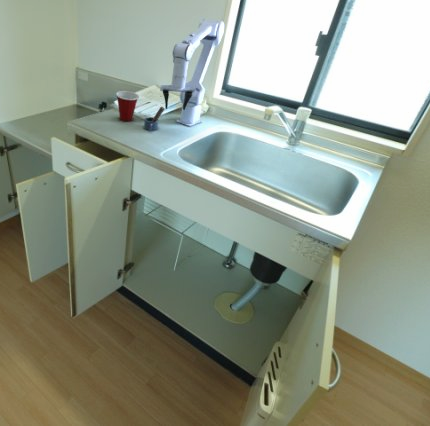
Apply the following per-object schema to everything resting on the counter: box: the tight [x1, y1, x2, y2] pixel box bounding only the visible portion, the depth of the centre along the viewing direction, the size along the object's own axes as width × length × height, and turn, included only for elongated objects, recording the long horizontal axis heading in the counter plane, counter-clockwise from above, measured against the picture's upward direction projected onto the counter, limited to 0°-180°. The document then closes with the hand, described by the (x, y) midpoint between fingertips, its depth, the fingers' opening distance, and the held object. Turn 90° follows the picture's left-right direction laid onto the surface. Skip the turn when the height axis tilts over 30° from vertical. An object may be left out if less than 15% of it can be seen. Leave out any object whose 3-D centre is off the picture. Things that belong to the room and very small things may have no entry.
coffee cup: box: [143, 116, 159, 132], centre depth 148 cm, size 9×6×4 cm
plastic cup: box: [115, 90, 140, 122], centre depth 154 cm, size 11×11×12 cm
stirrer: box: [151, 106, 165, 122], centre depth 147 cm, size 2×2×10 cm
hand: (175, 108), depth 142 cm, fingers open, 7 cm apart
